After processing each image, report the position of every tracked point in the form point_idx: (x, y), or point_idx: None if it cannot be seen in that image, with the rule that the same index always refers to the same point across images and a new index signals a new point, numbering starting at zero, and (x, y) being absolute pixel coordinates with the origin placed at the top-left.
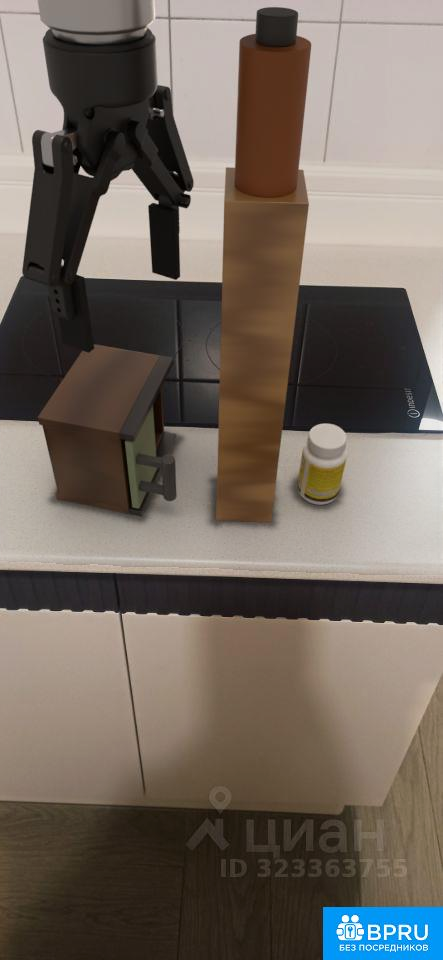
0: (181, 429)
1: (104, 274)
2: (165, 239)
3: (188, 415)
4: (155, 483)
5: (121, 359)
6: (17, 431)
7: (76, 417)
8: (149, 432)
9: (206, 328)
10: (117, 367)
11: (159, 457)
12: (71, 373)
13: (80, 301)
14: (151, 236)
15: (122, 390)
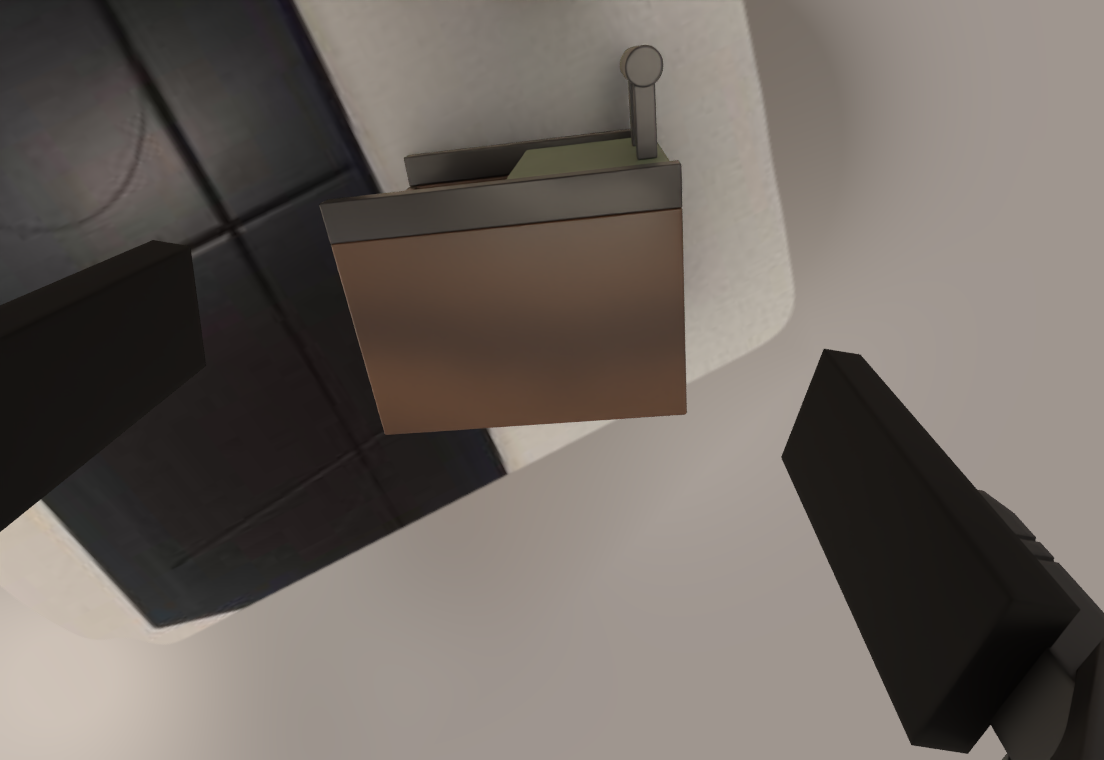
0: (374, 156)
1: (36, 516)
2: (57, 378)
3: (325, 160)
4: (631, 107)
5: (400, 333)
6: (527, 448)
7: (658, 335)
8: (548, 168)
9: (28, 246)
10: (435, 329)
11: (635, 97)
12: (508, 417)
13: (992, 511)
14: (82, 455)
15: (517, 276)
